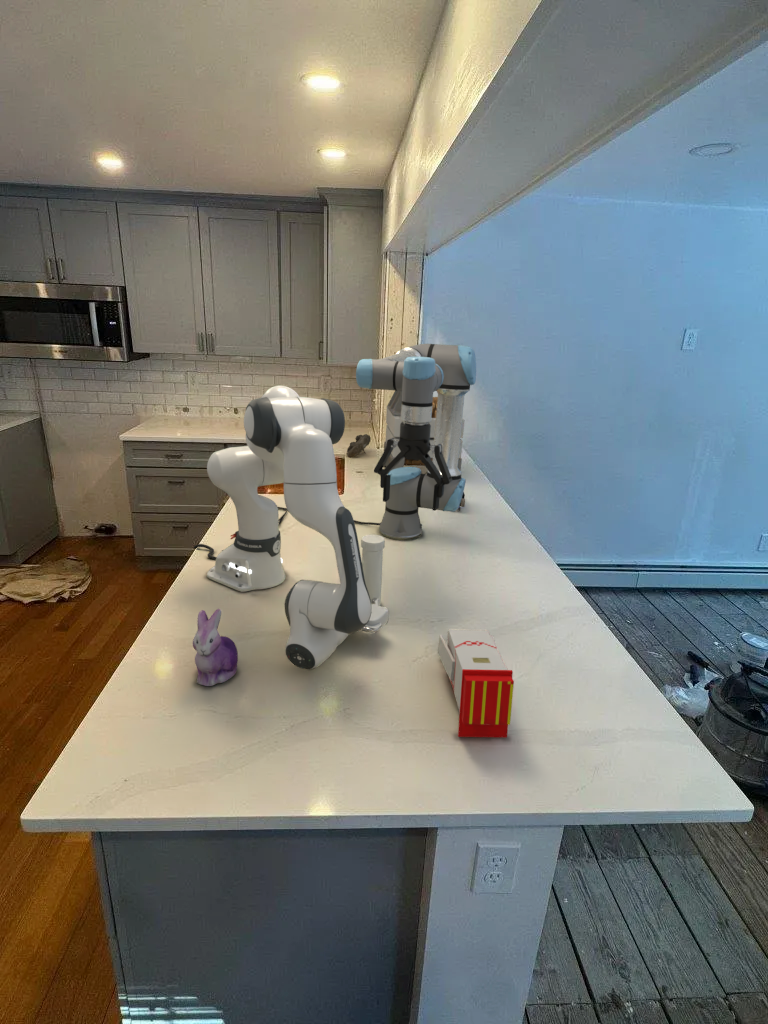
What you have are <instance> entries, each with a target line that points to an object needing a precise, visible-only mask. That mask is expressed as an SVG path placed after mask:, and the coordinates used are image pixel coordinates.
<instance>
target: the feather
mask: <svg viewBox="0 0 768 1024" xmlns="http://www.w3.org/2000/svg"><path fill="white" fill-rule="evenodd" d="M287 512H288V511H287V510H285V512H284V513H283V514H282V515H281V517H280V518H279V526H280V525H281V524H282V522H283V519H284V518H285V516H286V514H287Z"/></svg>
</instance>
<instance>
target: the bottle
mask: <svg viewBox="0 0 768 1024" xmlns="http://www.w3.org/2000/svg"><path fill="white" fill-rule="evenodd" d="M383 558H384V549H382V550H380V551H367V550H364V549H363V548H362V547H361V561H362V567H363V573H364V578H365V583H366V587H367V590H368V593H369V596H370V599H371V604H372V599H373V598H378V599H380V603H379V606H381V602H382V583H383V582H382V581H383V580H382V579H383V560H384V559H383Z"/></svg>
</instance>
